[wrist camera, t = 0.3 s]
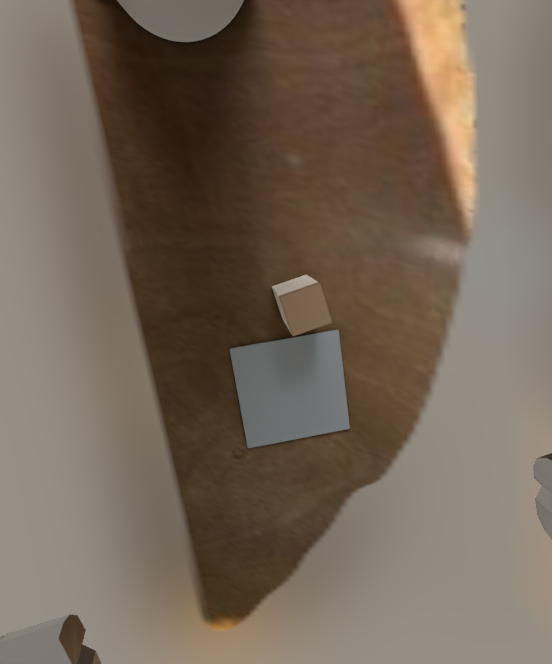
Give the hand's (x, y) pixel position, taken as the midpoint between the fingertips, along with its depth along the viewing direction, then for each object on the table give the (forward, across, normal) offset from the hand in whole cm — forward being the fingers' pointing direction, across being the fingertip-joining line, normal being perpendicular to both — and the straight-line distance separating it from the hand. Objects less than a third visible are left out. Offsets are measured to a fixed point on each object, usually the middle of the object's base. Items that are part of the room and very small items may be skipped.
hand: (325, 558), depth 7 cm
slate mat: (+46, -6, +18) cm, 50 cm away
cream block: (+46, -9, +6) cm, 47 cm away
